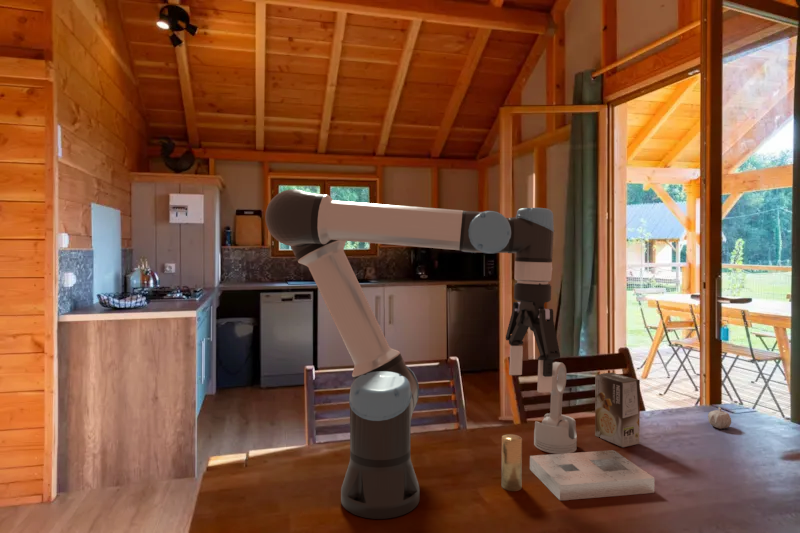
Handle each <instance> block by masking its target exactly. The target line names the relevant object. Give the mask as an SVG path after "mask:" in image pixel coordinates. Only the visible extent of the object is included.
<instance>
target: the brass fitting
mask: <svg viewBox="0 0 800 533" xmlns="http://www.w3.org/2000/svg"><path fill="white" fill-rule="evenodd" d="M522 460H523V438H522V437H521V436H520V435H517V434H513V433H511V434H510V433H509V434H503V435H501V488H502V489H503V490H505V491H508V492H517V491H520V490H522V488H523V487H522V485H523V484H522V482H523V481H522V479H523V478H522V476H523V475H522V474H523V472H522V471H523V469H522V466H523V463H522V462H523V461H522Z"/></svg>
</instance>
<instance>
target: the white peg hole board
mask: <svg viewBox="0 0 800 533" xmlns="http://www.w3.org/2000/svg"><path fill="white" fill-rule="evenodd" d="M529 470H530V471H531V473H533V474H534V475H535V477H537V478H538V480H539V481H540V482H542V484H544V486H545V487H546V488H547V489H548V490H549V492H551V494H553V495H554V496H555V497H556V498H557V499H558V500H559V501H569V500H571V501H572V500H581V499H582V500H583V499H594V498H595V499H596V498H606V497H619V496H630V495H631V496H632V495H643V494H645V495H646V494H654V493H655V477H654V476H653V475H651V474H649V473H648V472H647V471H645V470H644V469H642V468H641V467H640V466H638V465H637V464H635V463H634V462H632V461H630V460H629V459H627V458H626V457H625V456H623V455H622V454H620V453H619V452H618V451H616V450H614V449H610V450H597V451H581V452H572V453H564V454H554V453H549V454H537V455H529Z"/></svg>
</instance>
